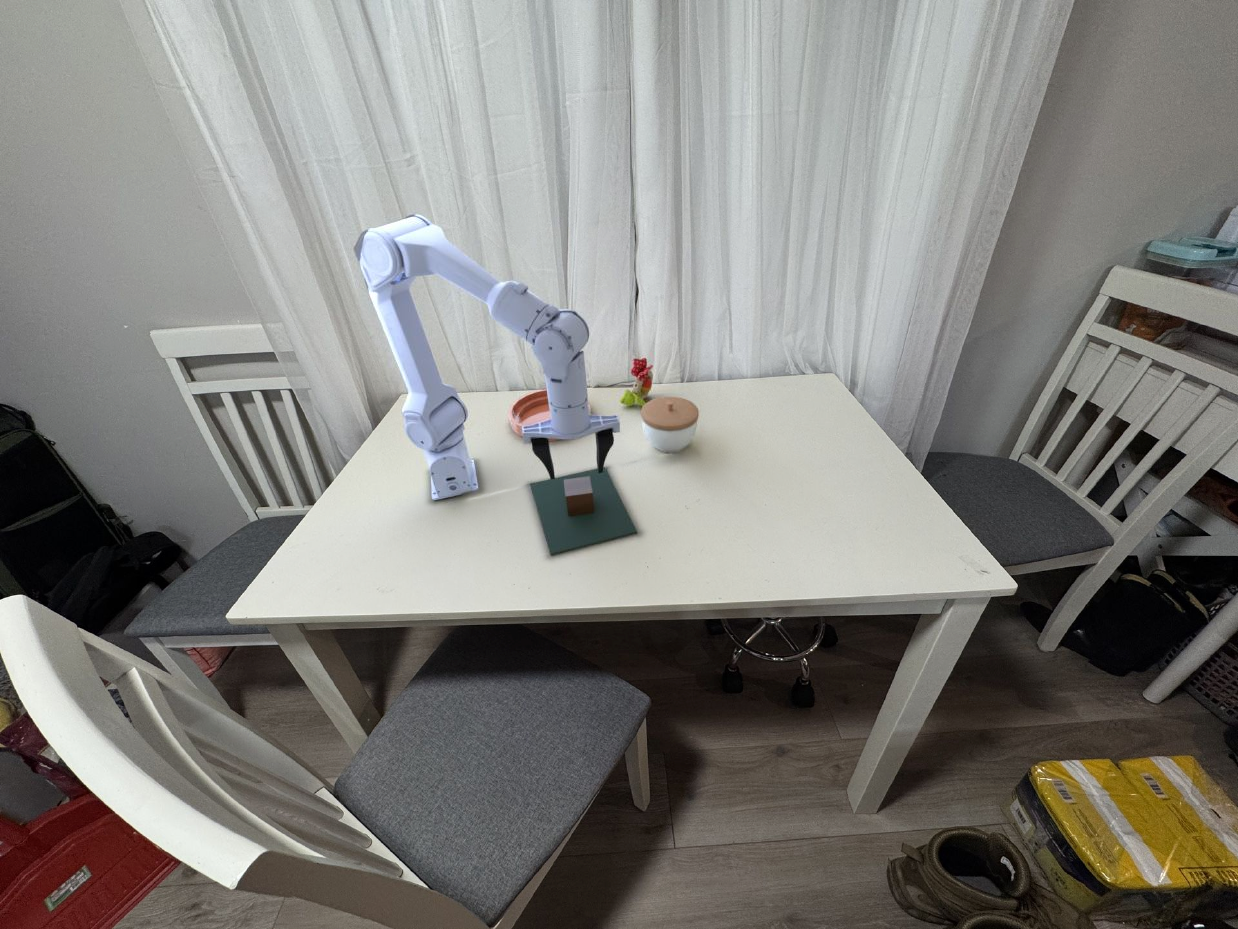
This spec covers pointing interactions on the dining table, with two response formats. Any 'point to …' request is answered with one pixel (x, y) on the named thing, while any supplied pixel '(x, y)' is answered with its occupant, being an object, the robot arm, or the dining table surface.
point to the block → (579, 496)
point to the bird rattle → (639, 383)
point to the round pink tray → (531, 411)
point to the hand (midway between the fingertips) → (576, 472)
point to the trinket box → (669, 423)
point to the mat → (581, 528)
